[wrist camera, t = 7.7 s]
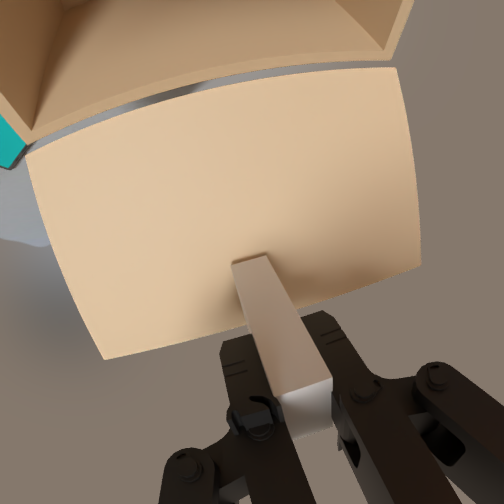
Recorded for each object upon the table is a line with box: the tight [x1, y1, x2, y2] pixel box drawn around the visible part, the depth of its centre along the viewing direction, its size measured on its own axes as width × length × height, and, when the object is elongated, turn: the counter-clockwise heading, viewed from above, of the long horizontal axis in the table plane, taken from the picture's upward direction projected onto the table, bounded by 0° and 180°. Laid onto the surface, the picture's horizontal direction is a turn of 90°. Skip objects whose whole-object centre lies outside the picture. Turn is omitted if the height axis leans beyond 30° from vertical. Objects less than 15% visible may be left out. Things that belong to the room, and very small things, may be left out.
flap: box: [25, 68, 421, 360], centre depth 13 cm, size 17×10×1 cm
